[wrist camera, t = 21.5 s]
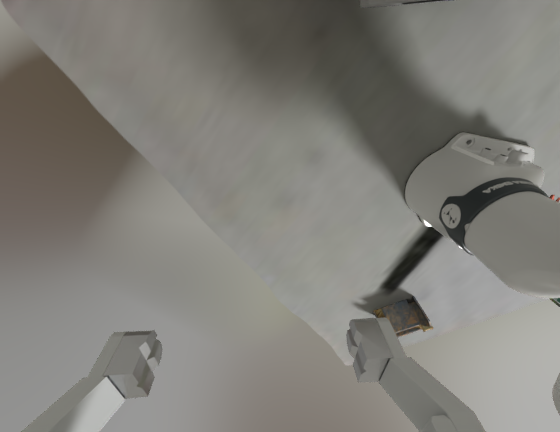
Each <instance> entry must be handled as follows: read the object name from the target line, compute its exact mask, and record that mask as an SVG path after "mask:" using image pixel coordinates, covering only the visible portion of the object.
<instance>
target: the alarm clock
mask: <svg viewBox="0 0 560 432" xmlns="http://www.w3.org/2000/svg"><path fill="white" fill-rule="evenodd" d="M442 1H453V0H360V7H362V8H369V7H383V6H396V5H407V4H419V3H431V2H442Z"/></svg>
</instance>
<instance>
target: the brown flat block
mask: <svg viewBox="0 0 560 432" xmlns="http://www.w3.org/2000/svg"><path fill="white" fill-rule="evenodd" d="M413 298H414V302H412V303H409V304H408V302H407V300H406V299H405V300H403V301H400V302H397V303H394V304H392V305H389V306H386V307H383V308H380V309H377V310H375V311H373V312H374V314H375V317H376V318H387V319H388V320H389V321H390V323H391V325H392V327H393V329H394V332H395V334H396V336H397V338H398V337H401V336H404V335H407V334H410V333H413V332H416V331H419V330H422V329H423V331H424V332H425V331H426V330H429V329H433V327H432V326H431V323H430V320H429V319H428V317H427V316H426V314H425V312H424V311H423V309H422V308H421V306H420V305H419V303H418V302H417V300H416V298H415V297H414V296H413Z"/></svg>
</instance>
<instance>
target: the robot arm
mask: <svg viewBox="0 0 560 432" xmlns="http://www.w3.org/2000/svg"><path fill="white" fill-rule="evenodd" d="M468 140H469V141H468ZM467 141H468V142H467ZM533 161H534V149H533V148H532V147H530V146H527V145H523V144H518V143H513V142H508V141H504V140H499V139H494V138H489V137H485V136H480V135H475V134H470V133H465V132H462V133H459V134H458V135H456V136H455V137H454V138H453V139H452V140H451V141H450V142H449V143H448V144H447V145H446V146H445V147H443V148H442V149H440V150H438V151H437V152H435V153H433V154H432V155H430V156H429V157H427V158H426V159H425V160H424V161H422V162H421V163H420V164H419V165H418V166H417V168H416V169H415V170H414V171H413V173H412V174H411V176H410V178H409V180H408V182H407V185H406V189H405V199H406V203H407V205H408V206H409V208H410V209H411V210H412V211H413V212H415V213H416V214H418V215H419V216H420V219H421V221H422V223H423V224H424V225H426V226H427V227H431V226H432V227H433V228H435V229H436V230H437V231H439V232H440V233H441V234H443V235H444V236H445V237H446V238H448V239H449V240H451V241H454V242H455V243H456V244H457V245H458V246H459V247H460V248H461V249H463V250H464V251H466V252H467V253H469V254H471V255H473V256H475V257H476V258H477V259H479V260H480V261H481V262H482V263H483V264H484V265H485V266H486V267H487V268H488V269H489V270H490V271H492V272H493V273H494V274H495V275H496V276H497V277H498V278H499V279H500V280H501V281H502V282H503V283H505V284H506V285H507V286H508V287H509V288H511V289H513V290H515V291H517V292H520V293H523V294H526V295H529V296H533V297H538V298H560V203H559V202H558V201H559V200H560V198H558V199H557V200H556V201H554V196H555V195H551V196H550V198H549V197H548V196H547V194H546V193H545V192H543V191H542V190H541V186H542V184H543V181H544V171H543V169H542V168H541V167H539V166H537V165H534V164H533ZM349 326H350V329H349V330H348V331H347V335H346V336H347V346H348V350H349V353H350V355H351V356H352V357H353V358H354V359H355V360H354V363H353V367H354V370H355V373H356V377H357V380H358V382H378V381H379V384H380V385H381V386H382V387H383V388H384V390H385V391H386V392H387V393H388V394H389V396H390V397H391V398H392V399H393V400H394V402H395V403H396V404H397V405H398V406H399V407H400V409H401V410H402V411H403V412H404V413H405V415H406V416H407V417H408V418H409V419H410V421H411V422H412V423H413V424H414V425H415V426H416V428H417V429H418V430H419V432H485V430H484V428H483V427H482V425H481V423H480V421H479V420H478V418H477V416H476V415H475V413H474V412H473V411H472V410H471V409H470V408H469V407H468V406H466V405H465V404H464V403H463V402H462V401H460V400H459V399H458V398H457V397H456V396H455V395H454V394H453V393H451V392H450V391H449V390H448V389H447V388H446V387H444V386H443V385H442V384H441V383H440V382H439V381H438V380H436V379H435V378H434V377H433V376H432V375H431V374H429V373H428V372H427V371H426V370H425V369H424V368H422V367H421V366H420V365H419V364H418V363H417V362H416V361H415V360H413V359H412V358H411V357H407V356H406V354H405V352H404V350H403V348H402V346H401V344H400V342H399V340H398V338H397V336H396V334H395V332H394V329H393V327H392V325H391V323H390V321H389V320H388V319H387V318H366V319H353V320H350V323H349ZM156 336H157V334H156V332H155V331H154V330H153V331H136V332H115V333H113V334H112V335H111V336H110V338H109V339H108V341H107V343H106V345H105V346H104V348H103V350H102V352H101V354H100V355H99V357H98V359H97V361H96V363H95V364H94V366H93V368H92V370H91V372H90V374H89V375H88V377H86V378H83V379H81V380H80V381H79V382H78V383H77V384H75V385H74V386H73V387H72V388H71V389H70V390H69V391H68V392H66V393H65V394H64V395H63V396H62V397H61V398H59V400H57V401H56V402H55V403H54V404H52V405H51V406H50V407H49V408H48V409H47V410H46V411H44V412H43V413H42V414H41V415H40V416H39V417H38V418H37V419H35V420H34V421H33V422H32V423H31V424H30V425H28V426H27V427H26V428H25V429H24V430H23V431H21V432H99V431H100V430H101V429H102V428H103V426H104V425H105V424H106V423H107V422H108V420H109V419H110V418H111V417H112V416H113V414H114V413H115V412H116V411H117V410H118V408H119V407H120V406H121V405H122V404H123V402H124V401H125V399H127V398H137V397H147V396H148V395H149V392H150V389H151V386H152V383H153V380H154V374H153V371H154V370H155V368H156V367H157V366H158V365H159V363H160V360H161V355H162V345H161V342H160V341H159V340H157V339H156ZM552 393H553V401H554V404H555V406H556V409H557V411H558V413H559V415H560V373H559V375H558V378H557V380H556V382H555V385H554V387H553V392H552Z"/></svg>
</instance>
